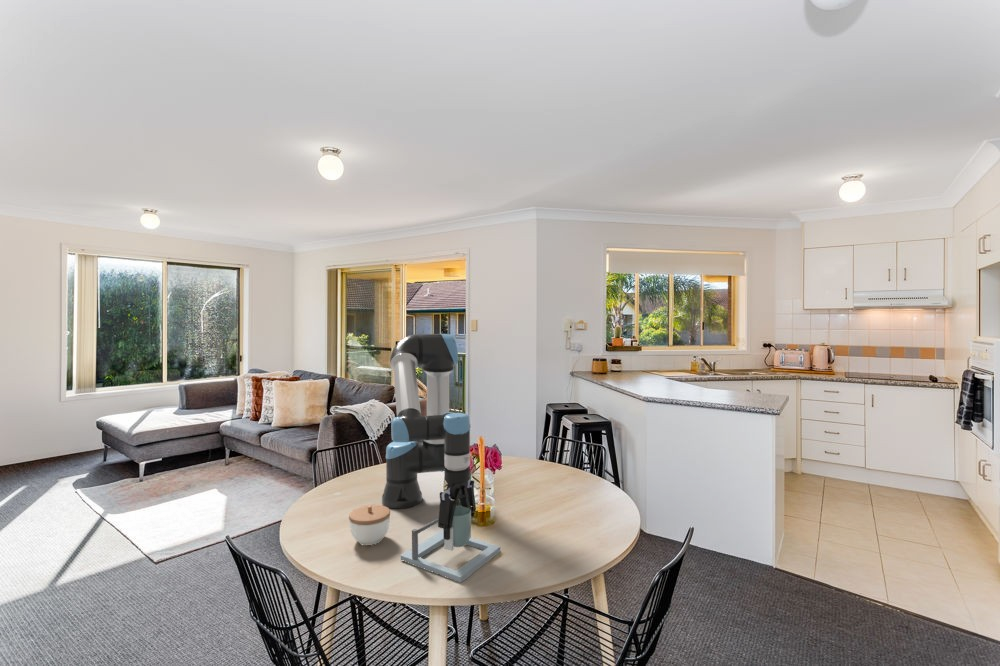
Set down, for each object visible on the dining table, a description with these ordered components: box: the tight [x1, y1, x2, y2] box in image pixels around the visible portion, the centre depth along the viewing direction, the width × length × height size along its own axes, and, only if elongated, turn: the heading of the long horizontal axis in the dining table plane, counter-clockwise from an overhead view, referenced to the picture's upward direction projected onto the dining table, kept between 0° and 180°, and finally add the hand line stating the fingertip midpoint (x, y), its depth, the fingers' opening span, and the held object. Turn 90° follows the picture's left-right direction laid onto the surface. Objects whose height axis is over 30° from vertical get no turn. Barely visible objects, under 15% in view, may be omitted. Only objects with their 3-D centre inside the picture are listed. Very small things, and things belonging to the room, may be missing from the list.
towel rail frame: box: [399, 517, 501, 583], centre depth 144 cm, size 22×20×10 cm
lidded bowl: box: [348, 504, 391, 546], centre depth 154 cm, size 13×13×11 cm
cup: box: [451, 505, 472, 548], centre depth 142 cm, size 8×8×10 cm
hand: (458, 543), depth 143 cm, fingers closed on cup, 8 cm apart
